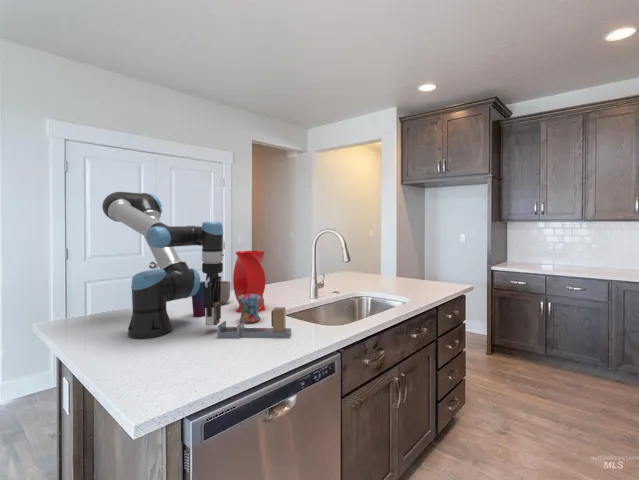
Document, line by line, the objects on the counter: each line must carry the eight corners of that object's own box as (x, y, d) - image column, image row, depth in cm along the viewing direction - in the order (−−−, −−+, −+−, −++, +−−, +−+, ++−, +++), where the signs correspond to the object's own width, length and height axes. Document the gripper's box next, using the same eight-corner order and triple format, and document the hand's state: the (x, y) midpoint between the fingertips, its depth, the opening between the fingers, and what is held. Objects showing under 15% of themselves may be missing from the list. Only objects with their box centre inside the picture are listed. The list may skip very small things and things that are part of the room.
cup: (188, 316, 157) (187, 283, 157) (198, 313, 164) (197, 281, 163) (200, 318, 155) (199, 284, 154) (210, 314, 161) (209, 281, 160)
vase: (242, 315, 160) (241, 253, 158) (228, 309, 171) (227, 251, 170) (271, 309, 169) (270, 251, 168) (256, 304, 180) (255, 249, 179)
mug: (246, 325, 143) (246, 299, 143) (234, 321, 150) (233, 296, 149) (270, 319, 152) (270, 295, 151) (257, 315, 158) (257, 292, 158)
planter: (204, 302, 186) (204, 282, 186) (228, 300, 191) (227, 280, 191) (207, 307, 175) (207, 285, 174) (232, 304, 180) (232, 283, 180)
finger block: (205, 325, 134) (205, 304, 133) (209, 322, 138) (209, 301, 137) (217, 325, 134) (217, 304, 133) (221, 322, 138) (221, 302, 137)
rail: (217, 338, 128) (216, 310, 127) (223, 331, 135) (223, 306, 134) (288, 338, 126) (288, 311, 126) (291, 332, 133) (291, 306, 133)
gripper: (214, 265, 126) (214, 330, 127) (229, 259, 143) (229, 316, 144) (193, 264, 126) (193, 329, 127) (210, 259, 143) (210, 316, 144)
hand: (212, 322), depth 136 cm, fingers closed on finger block, 4 cm apart
